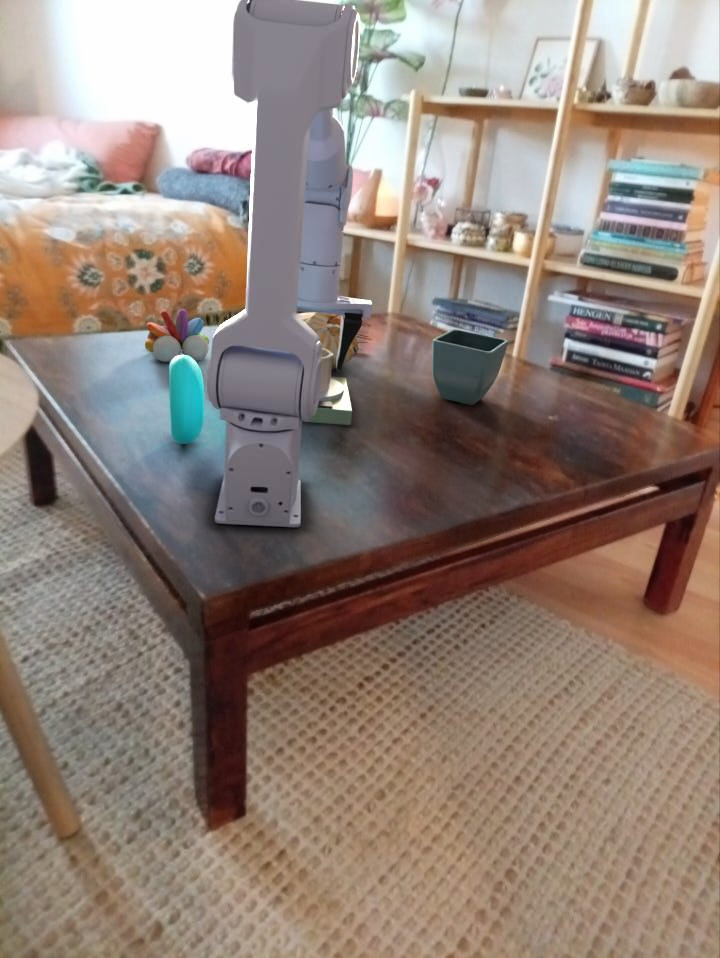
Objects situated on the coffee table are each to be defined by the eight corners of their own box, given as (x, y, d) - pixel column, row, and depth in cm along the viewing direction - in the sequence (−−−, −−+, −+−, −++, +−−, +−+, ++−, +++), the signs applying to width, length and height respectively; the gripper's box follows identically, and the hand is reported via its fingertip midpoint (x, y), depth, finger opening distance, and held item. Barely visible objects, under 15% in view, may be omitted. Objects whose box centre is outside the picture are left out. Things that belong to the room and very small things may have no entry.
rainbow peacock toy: (140, 348, 110) (139, 302, 107) (202, 347, 114) (202, 302, 111) (150, 365, 104) (149, 316, 100) (215, 363, 108) (216, 316, 104)
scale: (350, 425, 91) (352, 406, 90) (265, 419, 90) (265, 400, 89) (344, 391, 103) (346, 373, 101) (269, 385, 101) (269, 368, 100)
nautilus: (342, 344, 126) (405, 372, 118) (248, 353, 111) (312, 386, 103) (350, 300, 123) (415, 326, 114) (254, 303, 108) (321, 333, 99)
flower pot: (422, 398, 103) (431, 338, 99) (444, 384, 110) (453, 327, 106) (479, 413, 100) (491, 352, 96) (498, 397, 107) (509, 340, 103)
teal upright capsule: (263, 457, 80) (267, 372, 75) (171, 458, 77) (170, 371, 72) (252, 423, 88) (255, 345, 84) (169, 423, 85) (168, 343, 81)
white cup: (330, 393, 93) (333, 360, 91) (287, 390, 93) (289, 356, 91) (328, 379, 98) (331, 347, 96) (287, 376, 98) (289, 344, 96)
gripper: (372, 261, 93) (361, 361, 99) (261, 251, 91) (257, 353, 97) (377, 271, 86) (365, 377, 92) (258, 260, 85) (254, 369, 91)
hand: (310, 366), depth 94 cm, fingers open, 7 cm apart
